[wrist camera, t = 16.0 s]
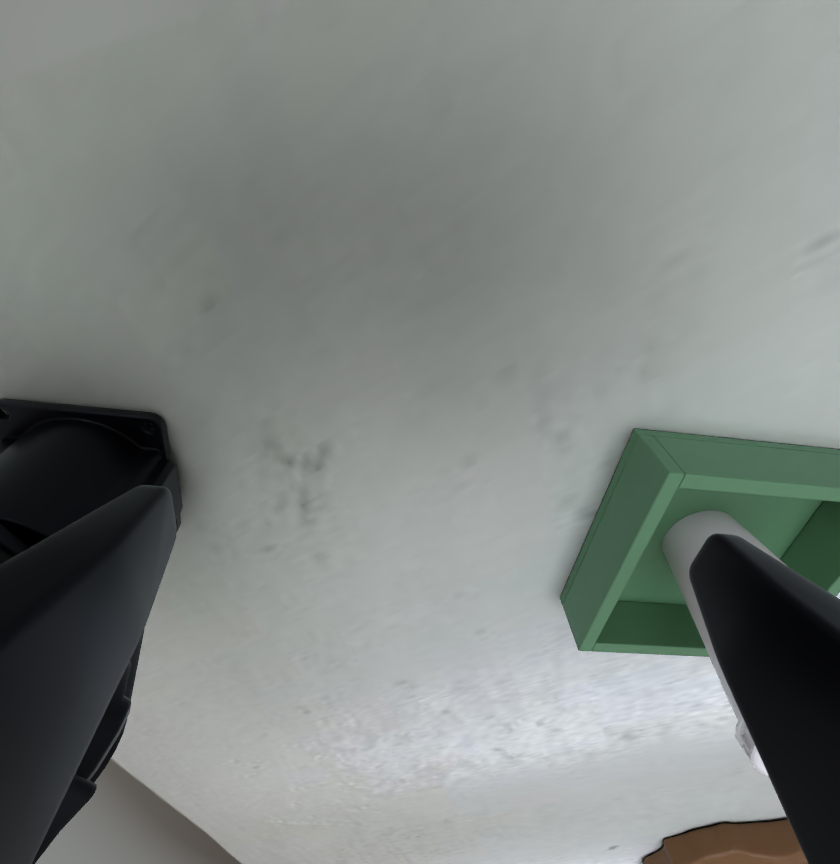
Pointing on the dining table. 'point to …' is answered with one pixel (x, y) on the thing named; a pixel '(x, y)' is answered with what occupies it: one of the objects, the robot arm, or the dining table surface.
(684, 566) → the smoothie
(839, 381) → the dining table surface
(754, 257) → the dining table surface
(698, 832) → the plant
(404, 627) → the dining table surface
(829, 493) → the caddy
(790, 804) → the robot arm
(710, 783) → the dining table surface
